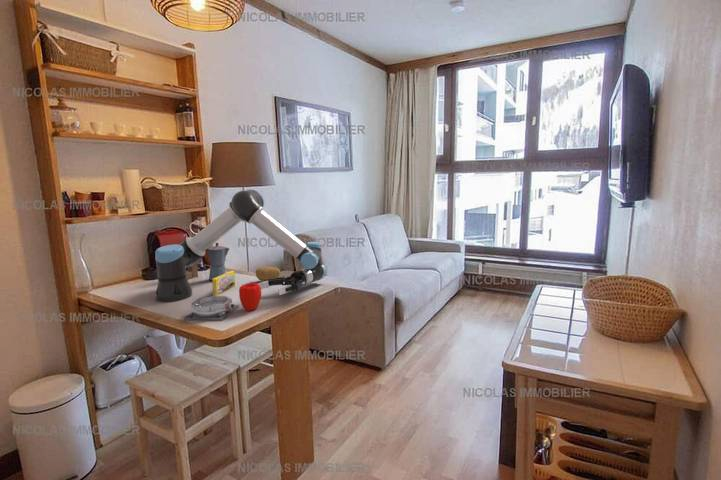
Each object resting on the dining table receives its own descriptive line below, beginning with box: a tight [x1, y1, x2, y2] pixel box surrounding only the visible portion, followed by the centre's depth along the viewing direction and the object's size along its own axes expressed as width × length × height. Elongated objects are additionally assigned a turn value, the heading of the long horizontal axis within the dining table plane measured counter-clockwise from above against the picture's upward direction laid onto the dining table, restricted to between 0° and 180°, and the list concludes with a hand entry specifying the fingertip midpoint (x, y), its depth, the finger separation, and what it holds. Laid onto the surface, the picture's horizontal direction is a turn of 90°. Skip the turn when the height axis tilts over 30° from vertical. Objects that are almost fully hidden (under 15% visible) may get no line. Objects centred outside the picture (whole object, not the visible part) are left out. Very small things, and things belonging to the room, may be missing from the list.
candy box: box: [211, 270, 236, 296], centre depth 179 cm, size 16×2×8 cm, turn 168°
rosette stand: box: [183, 295, 240, 322], centre depth 148 cm, size 15×15×5 cm
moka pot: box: [201, 242, 230, 282], centre depth 199 cm, size 10×15×20 cm, turn 102°
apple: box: [238, 282, 262, 312], centre depth 152 cm, size 9×9×11 cm
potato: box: [255, 266, 281, 282], centre depth 193 cm, size 10×14×8 cm
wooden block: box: [186, 262, 199, 280], centre depth 203 cm, size 4×11×18 cm, turn 146°
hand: (267, 289), depth 159 cm, fingers open, 13 cm apart
